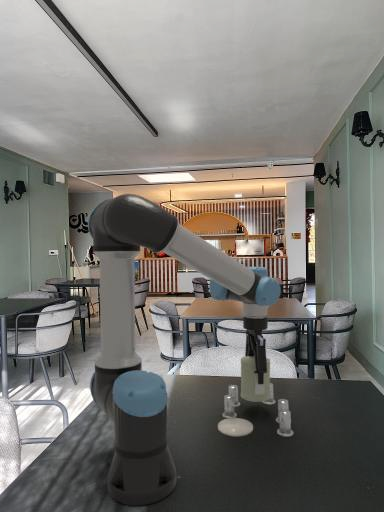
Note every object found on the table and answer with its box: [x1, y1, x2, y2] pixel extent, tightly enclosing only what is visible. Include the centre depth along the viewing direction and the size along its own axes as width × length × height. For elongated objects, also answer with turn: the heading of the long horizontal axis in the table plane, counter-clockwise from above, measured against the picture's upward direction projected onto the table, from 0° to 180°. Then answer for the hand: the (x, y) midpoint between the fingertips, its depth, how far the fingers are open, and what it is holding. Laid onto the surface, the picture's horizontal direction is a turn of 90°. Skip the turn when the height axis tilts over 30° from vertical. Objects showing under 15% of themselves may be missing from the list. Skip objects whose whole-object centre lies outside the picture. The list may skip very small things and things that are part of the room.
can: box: [240, 355, 271, 403], centre depth 118 cm, size 9×9×12 cm
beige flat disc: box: [217, 417, 254, 438], centre depth 109 cm, size 10×10×1 cm
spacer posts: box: [222, 382, 294, 438], centre depth 115 cm, size 25×19×6 cm
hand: (255, 388), depth 118 cm, fingers closed on can, 9 cm apart
